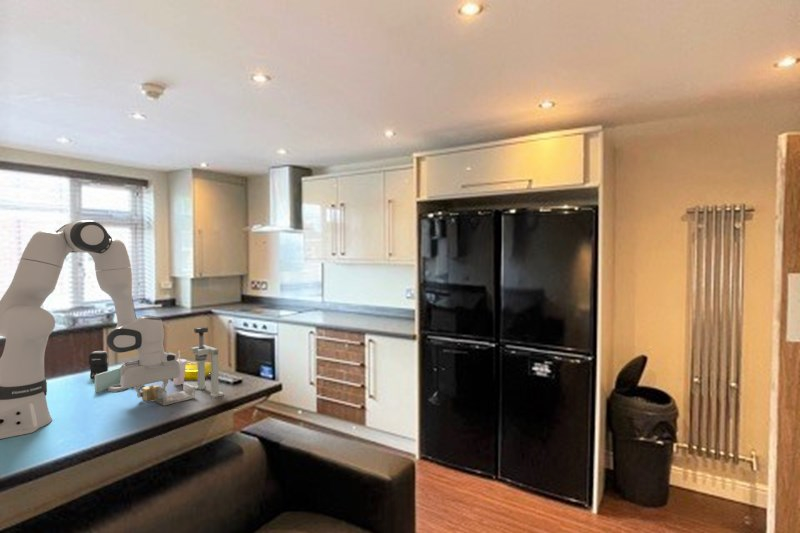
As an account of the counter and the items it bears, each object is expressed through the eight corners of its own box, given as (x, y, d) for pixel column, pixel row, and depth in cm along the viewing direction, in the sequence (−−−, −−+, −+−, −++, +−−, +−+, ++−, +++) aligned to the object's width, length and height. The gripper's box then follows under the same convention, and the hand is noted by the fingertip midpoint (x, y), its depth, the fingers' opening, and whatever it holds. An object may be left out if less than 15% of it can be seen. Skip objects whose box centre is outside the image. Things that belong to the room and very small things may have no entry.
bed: (163, 405, 161) (163, 391, 161) (154, 401, 166) (154, 387, 166) (195, 397, 170) (194, 384, 170) (185, 393, 175) (185, 380, 175)
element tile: (166, 380, 194) (166, 369, 194) (184, 370, 209) (184, 360, 209) (200, 380, 193) (200, 370, 193) (215, 371, 208) (215, 361, 208)
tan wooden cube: (147, 402, 166) (147, 388, 165) (141, 399, 169) (141, 386, 168) (161, 398, 169) (161, 385, 169) (155, 396, 173) (155, 383, 172)
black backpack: (87, 379, 193) (87, 353, 192) (92, 376, 197) (91, 351, 196) (105, 378, 194) (104, 352, 194) (109, 376, 198) (108, 350, 197)
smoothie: (190, 381, 190) (189, 349, 190) (181, 386, 184) (181, 352, 183) (176, 381, 191) (175, 348, 190) (166, 385, 185) (166, 352, 184)
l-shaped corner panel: (94, 393, 176) (94, 375, 175) (120, 384, 187) (120, 367, 187) (119, 396, 173) (119, 377, 173) (144, 387, 184) (144, 369, 184)
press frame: (206, 399, 168) (206, 352, 168) (185, 390, 179) (184, 345, 179) (223, 395, 174) (223, 349, 173) (202, 386, 185) (201, 343, 184)
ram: (198, 361, 172) (197, 329, 171) (192, 359, 175) (191, 328, 174) (210, 359, 176) (210, 328, 175) (204, 357, 179) (204, 326, 178)
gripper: (123, 365, 158) (124, 403, 159) (181, 354, 174) (182, 389, 175) (117, 362, 162) (117, 399, 163) (174, 352, 178) (174, 386, 179)
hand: (151, 394), depth 169 cm, fingers open, 6 cm apart
